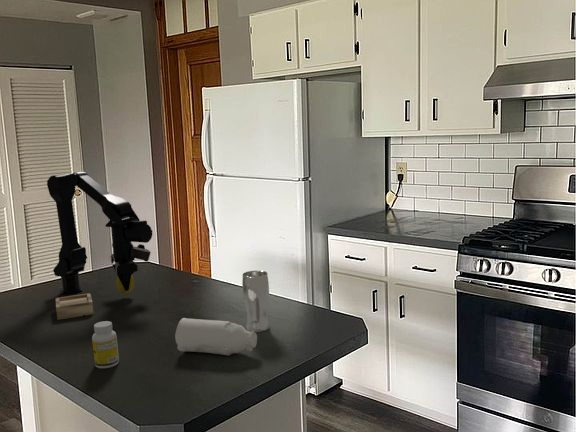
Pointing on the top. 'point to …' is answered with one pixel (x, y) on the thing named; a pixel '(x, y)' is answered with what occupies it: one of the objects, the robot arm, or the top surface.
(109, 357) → the supplement bottle
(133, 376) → the top surface
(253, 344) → the white plastic bottle
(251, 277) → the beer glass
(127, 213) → the robot arm
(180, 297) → the top surface
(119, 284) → the lemon
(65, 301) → the wooden serving tray
